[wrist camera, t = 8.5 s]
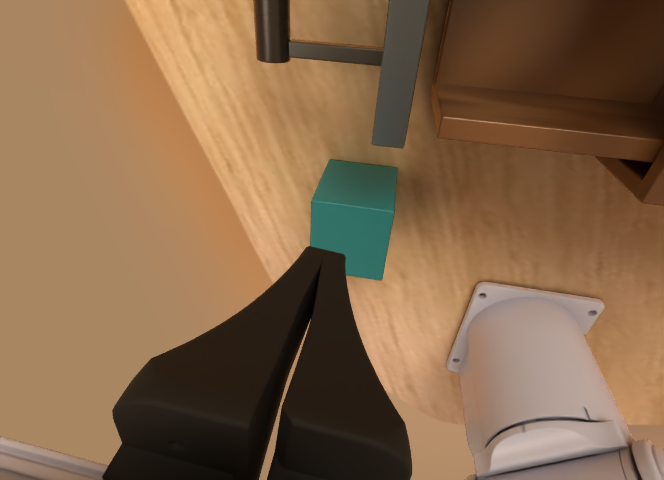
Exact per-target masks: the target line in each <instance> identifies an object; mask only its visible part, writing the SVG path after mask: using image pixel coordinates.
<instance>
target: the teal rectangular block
mask: <svg viewBox="0 0 664 480" xmlns="http://www.w3.org/2000/svg"><path fill="white" fill-rule="evenodd" d="M396 182H397V168H396V167H388V166H380V165H371V164H363V163H355V162H347V161H339V160H331V159H330V160H329V162H328V164H327V166H326V169H325V171H324V173H323V175H322V178H321V180H320V182H319V185H318V187H317V189H316V191H315V194H314V196H313V198H312V201H311V235H310V246H312V247H316V248H320V249H325V250H329V251H333V252H337V253H341V254H344V255H345V257H346V262H345V270H346V275H349V276H355V277H362V278H368V279H374V280H382V278H383V273H384V267H385V261H386V256H387V250H388V245H389V239H390V234H391V228H392V223H393V217H394V211H395V196H396Z"/></svg>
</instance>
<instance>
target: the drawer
mask: <svg viewBox="0 0 664 480" xmlns="http://www.w3.org/2000/svg"><path fill="white" fill-rule="evenodd" d="M253 4H254V21H255V39H256V56H257V60H259V61H261V62H266V63H285V62H289V61H290V59H291V58H302V59H312V60H323V61H333V62H344V63H354V64H365V65H375V66H381V72H380V80H379V88H378V96H377V104H376V112H375V120H374V129H373V137H372V145H377V146H386V147H394V148H404V145H405V139H406V134H407V128H408V122H409V117H410V111H411V106H412V100H413V94H414V89H415V83H416V77H417V72H418V66H419V60H420V55H421V49H422V44H423V38H424V32H425V27H426V21H427V15H428V10H429V4H430V0H389V7H388V15H387V23H386V31H385V39H384V47H373V46H362V45H351V44H340V43H329V42H317V41H306V40H295V39H292V40H290V0H253ZM431 101H432V107H433V113H434V119H435V125H436V131H437V137H438V138H442V139H451V140H459V141H468V142H477V143H486V144H495V145H503V146H512V147H521V148H530V149H539V150H547V151H556V152H565V153H574V154H583V155H591V156H600V157H609V158H618V159H627V160H635V161H644V162H654V161H655V159H656V157H657V156H658V154H659V152H660V151H661V149H662V147H663V146H664V0H450V2H449V7H448V12H447V17H446V22H445V27H444V32H443V37H442V42H441V47H440V51H439V56H438V61H437V66H436V71H435V76H434V81H433V86H432V91H431Z"/></svg>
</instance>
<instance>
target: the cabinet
mask: <svg viewBox="0 0 664 480" xmlns="http://www.w3.org/2000/svg"><path fill="white" fill-rule="evenodd" d="M595 157H596V158H597V159H598V160H599V161H600V162H601V163H602V164H603V165H604V166H605V167H606V168H607V169H608V170H609V171H610V172H611V173H612V174H613V175H614V176H615V177H616V178H617V179H618V180H619V181H620V182H621V183H622V184H623V185H624V186H625V187H626V188H628V189H629V190H630V191H631V192H632V193H633V194H634V196H635V197H636V198H637V199H638V200H639V201H640V202H641V203H646V204H654V205H662V206H664V146H663V147H662V149H661V151H660V152H659V154H658V156H657V157H656V159H655V161H654V162H644V161H635V160H627V159H618V158H609V157H600V156H595Z"/></svg>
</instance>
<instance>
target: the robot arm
mask: <svg viewBox="0 0 664 480" xmlns="http://www.w3.org/2000/svg"><path fill="white" fill-rule="evenodd" d="M345 262H346V257H345V255H344V254H341V253H337V252H333V251H329V250H325V249H320V248H316V247H312V246H308V247H306V248H305V250H304V251H303V253H302V254H301V255H300V257H299V258H298V259H297V260H296V261H295V263H294V264H293V265H292V266H291V267H290V268H289V269H288V270H287V271H286V272H285V273H284V274H283V275H282V276H281V277H280V278H279V279H278V280H277V281H276V282H275V283H274V284H273V285H272V286H271V287H270V288H269V289H268V290H266V291H265V292H264V293H263V294H262V295H261V296H259V297H258V298H257V299H256V300H255V301H253V302H252V303H251V304H249V305H248V306H247V307H245V308H244V309H243V310H241V311H240V312H238V313H237V314H235V315H234V316H232V317H231V318H229V319H228V320H226V321H225V322H223V323H221V324H220V325H218V326H216V327H215V328H213V329H211V330H210V331H208V332H206V333H204V334H202V335H200V336H199V337H196V338H195V339H193V340H191V341H189V342H187V343H185V344H183V345H181V346H178V347H176V348H174V349H172V350H169V351H167V352H165V353H163V354H161V355H158V356H156V357H153V358H151V359H150V360H149V362H148V363H147V364H146V365H145V366H144V367H143V368H142V369H141V371H140V372H139V373H138V374H137V375H136V377H134V379H133V380H132V381H131V383H130V384H129V386H128V387H127V388H126V390H125V391H124V393H123V394H122V396H121V397H120V399H119V400H118V402H117V403H116V405H115V406H114V408H113V419H114V422H115V425H116V427H117V430H118V433H119V436H120V438H121V441H122V445H121V446H120V448H119V450H118V451H117V453H116V455H115V456H114V458H113V460H112V461H111V463H110V464H109V466H108V465H104V464H101V463H97V462H94V461H90V460H86V459H83V458H79V457H75V456H71V455H68V454H64V453H61V452H57V451H53V450H49V449H45V448H42V447H38V446H35V445H31V444H27V443H24V442H20V441H16V440H12V439H9V438H5V437H2V436H0V480H259V477H260V473H261V469H262V466H263V462H264V458H265V455H266V451H267V447H268V444H269V441H270V437H271V434H272V430H273V427H274V423H275V420H276V416H277V413H278V409H279V406H280V402H281V399H282V395H283V392H284V388H285V385H286V381H287V378H288V375H289V373H290V370H291V367H292V365H293V362H294V360H295V357H296V355H297V352H298V349H299V347H300V345H301V342H302V339H303V337H304V334H305V332H306V329H307V327H308V324H309V322H310V319H311V322H310V325H309V328H308V331H307V334H306V337H305V341H304V344H303V347H302V350H301V353H300V356H299V359H298V362H297V365H296V368H295V371H294V374H293V377H292V379H291V382H290V385H289V388H288V391H287V394H286V397H285V399H284V402H283V405H282V409H281V415H280V422H279V428H278V435H277V441H276V448H275V453H274V456H273V460H272V463H271V467H270V470H269V474H268V477H267V480H410V478H411V475H412V460H411V451H410V445H409V439H408V435H407V430H406V426H405V423H404V421H403V420H402V418H401V416H400V415H399V414H398V412H397V410H396V409H395V407H394V405H393V404H392V402H391V400H390V399H389V397H388V395H387V393H386V391H385V390H384V388H383V386H382V384H381V382H380V381H379V378H378V376H377V374H376V372H375V370H374V368H373V366H372V364H371V362H370V360H369V358H368V355H367V353H366V350H365V348H364V345H363V343H362V340H361V337H360V335H359V332H358V329H357V326H356V322H355V319H354V315H353V311H352V308H351V303H350V299H349V293H348V288H347V281H346V270H345ZM481 293H484V294H483V295H479V294H481ZM604 307H605V306H604V303H603V302H602V301H601V300H600V299H597V298H590V297H584V296H577V295H570V294H564V293H557V292H551V291H544V290H537V289H531V288H524V287H518V286H511V285H504V284H498V283H491V282H480V283H478V284H477V285H476V288H475V290H474V293H473V295H472V298H471V300H470V303H469V306H468V308H467V311H466V313H465V316H464V319H463V321H462V324H461V326H460V329H459V332H458V334H457V337H456V339H455V342H454V345H453V347H452V350H451V352H450V355H449V358H448V360H447V363H446V368H447V369H448V370H449V371H452V372H457V373H459V377H460V385H461V394H462V402H463V410H464V418H465V427H466V435H467V441H468V445H469V448H470V451H471V453H472V455H473V457H474V464H475V471H476V474H473V475H470V476H468V477H467V478H466V479H465V480H664V449H663V448H661V447H659V446H657V445H655V444H654V443H653V442H651V441H649V440H647V439H643V440H639V441H634V439H633V437H632V435H631V433H630V431H629V429H628V427H627V425H626V423H625V421H624V418H623V416H622V414H621V412H620V410H619V408H618V406H617V404H616V402H615V400H614V398H613V395H612V393H611V391H610V389H609V387H608V385H607V383H606V381H605V379H604V377H603V375H602V373H601V370H600V368H599V366H598V364H597V362H596V360H595V358H594V356H593V354H592V352H591V350H590V347H589V345H588V343H587V341H586V339H585V335H586V334H587V332H588V331H589V329H590V328H591V326H592V325H593V324H594V322H595V321H596V319H597V318H598V316H599V315H600V314H601V312H602V311H603V309H604ZM592 310H593V311H592ZM589 311H591V312H589Z"/></svg>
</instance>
